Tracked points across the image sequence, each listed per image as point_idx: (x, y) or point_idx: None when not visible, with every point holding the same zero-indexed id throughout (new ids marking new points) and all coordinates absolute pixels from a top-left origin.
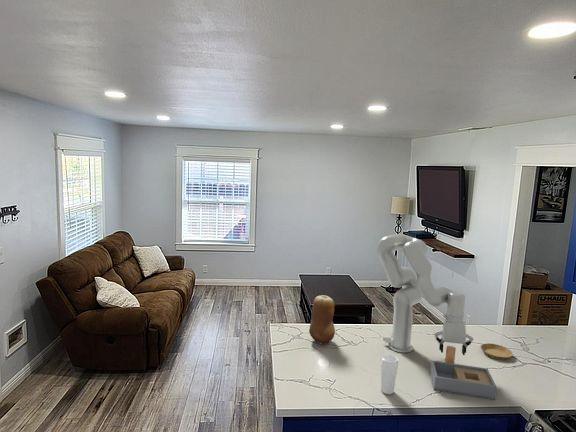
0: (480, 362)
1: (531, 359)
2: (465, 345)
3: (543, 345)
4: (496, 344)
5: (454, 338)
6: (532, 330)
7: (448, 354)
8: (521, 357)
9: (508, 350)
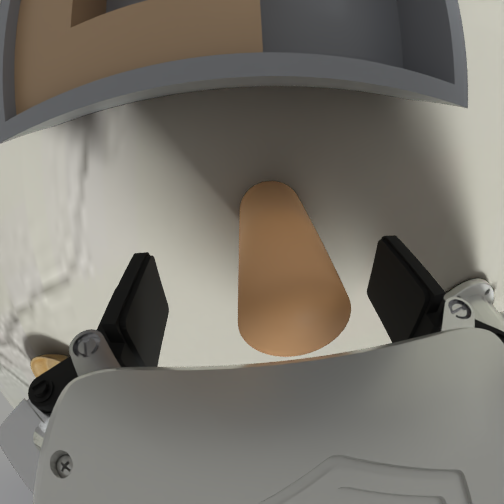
0: None
1: (11, 360)
2: (94, 354)
3: None
4: None
5: (340, 474)
6: None
7: (314, 239)
8: (28, 368)
9: None
